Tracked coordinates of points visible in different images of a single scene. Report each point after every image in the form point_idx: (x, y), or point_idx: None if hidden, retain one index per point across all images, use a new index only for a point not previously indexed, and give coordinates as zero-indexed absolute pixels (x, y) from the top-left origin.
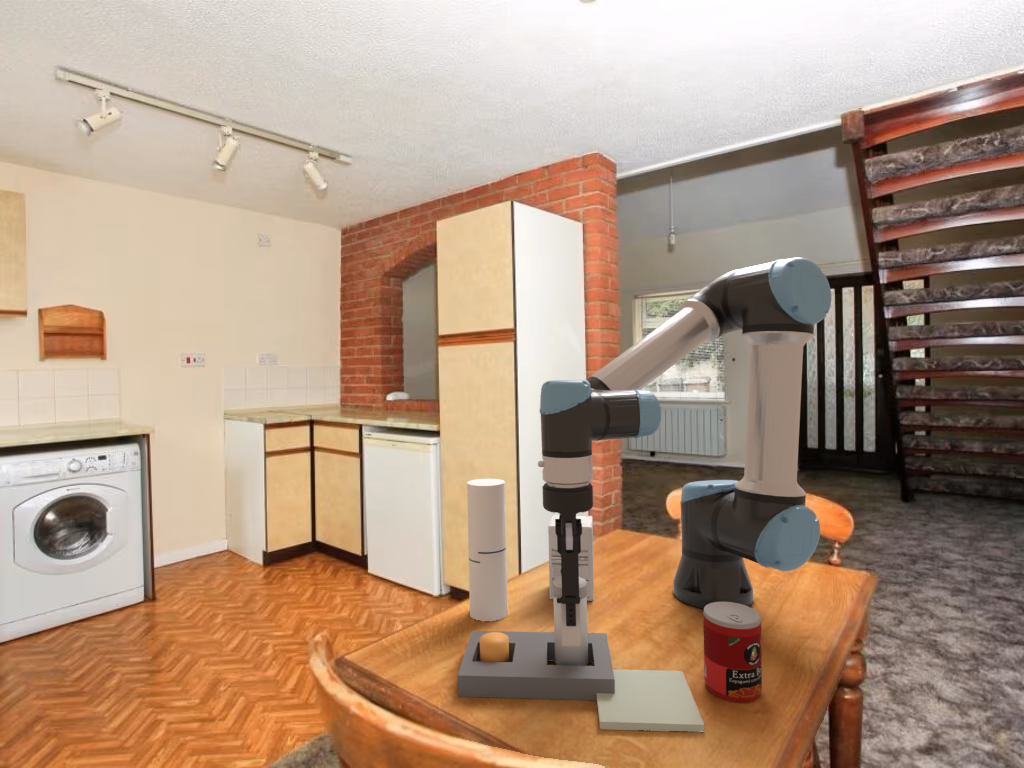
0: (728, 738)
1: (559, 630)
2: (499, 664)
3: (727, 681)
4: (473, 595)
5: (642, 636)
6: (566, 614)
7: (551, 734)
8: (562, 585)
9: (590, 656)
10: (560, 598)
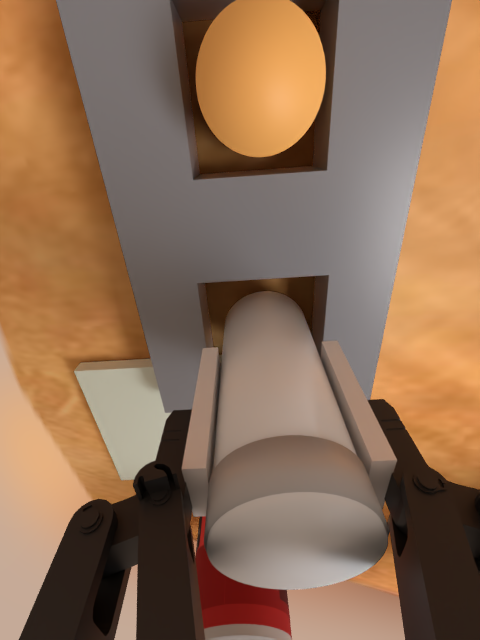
0: (122, 486)
1: (231, 360)
2: (171, 132)
3: (201, 525)
4: None
5: (411, 427)
6: (159, 448)
7: (29, 287)
8: (27, 630)
9: None
10: (176, 483)
